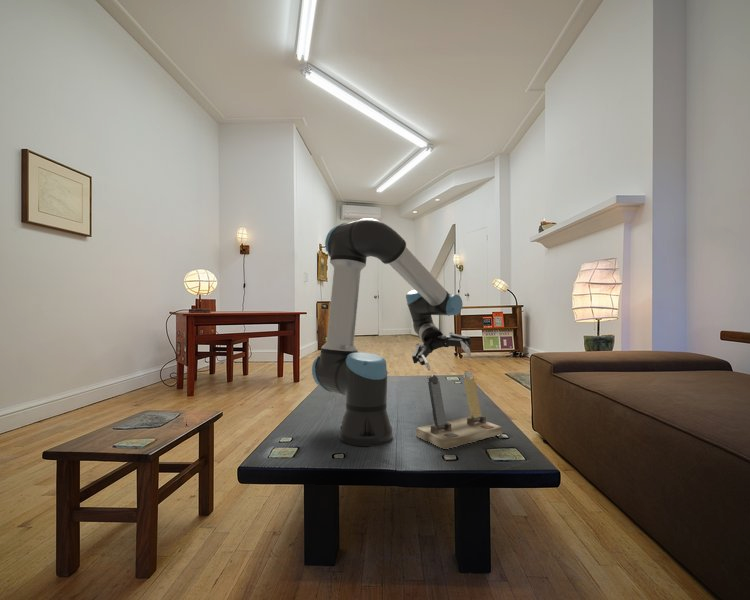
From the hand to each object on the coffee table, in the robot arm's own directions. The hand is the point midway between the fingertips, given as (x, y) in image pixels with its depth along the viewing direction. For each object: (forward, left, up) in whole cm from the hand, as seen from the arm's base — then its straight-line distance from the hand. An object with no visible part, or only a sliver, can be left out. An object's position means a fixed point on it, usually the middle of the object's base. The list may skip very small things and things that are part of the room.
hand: (448, 359), depth 116 cm
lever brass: (+9, +1, -17) cm, 19 cm away
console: (+6, -5, -21) cm, 22 cm away
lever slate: (+4, -12, -17) cm, 21 cm away
